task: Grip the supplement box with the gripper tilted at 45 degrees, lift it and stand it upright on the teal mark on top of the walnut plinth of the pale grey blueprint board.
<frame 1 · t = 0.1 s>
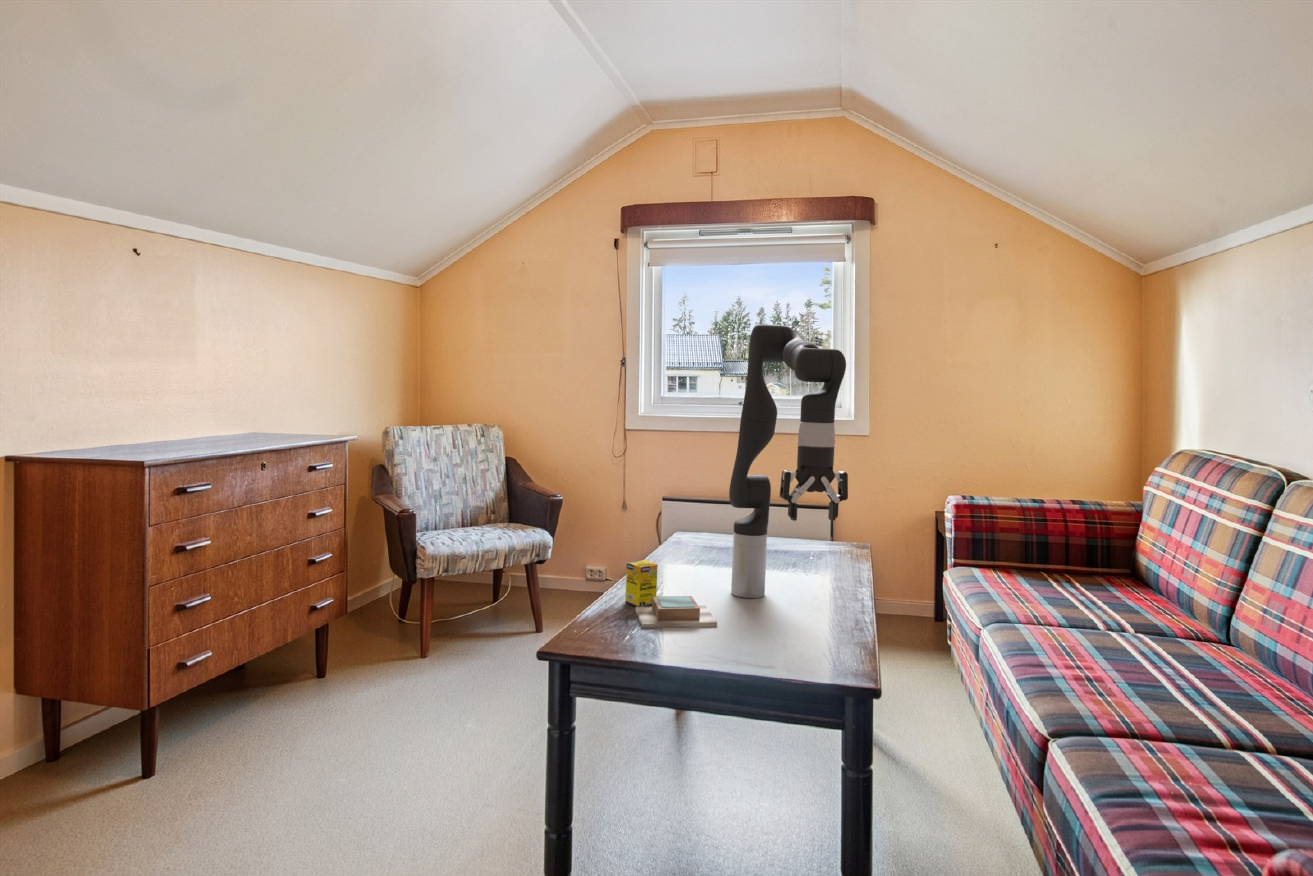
hand: (812, 520, 150), 29 cm above the table, tool pointing down, fingers open, 8 cm apart
blueprint board: (675, 618, 174), on the table
supplement box: (640, 605, 184), on the table
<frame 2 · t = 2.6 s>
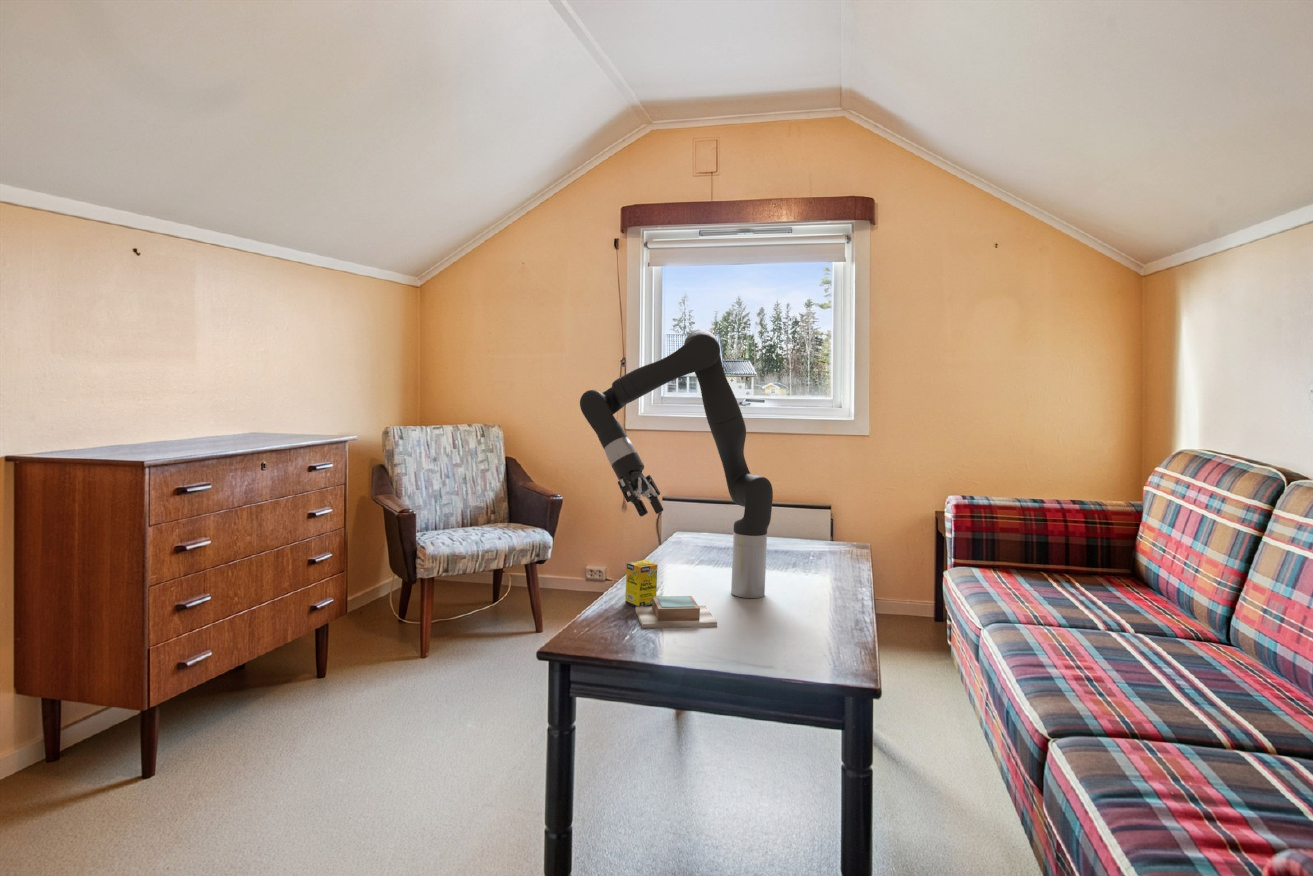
hand: (652, 513, 179), 24 cm above the table, tool tilted 35°, fingers open, 8 cm apart
nothing on the table moved.
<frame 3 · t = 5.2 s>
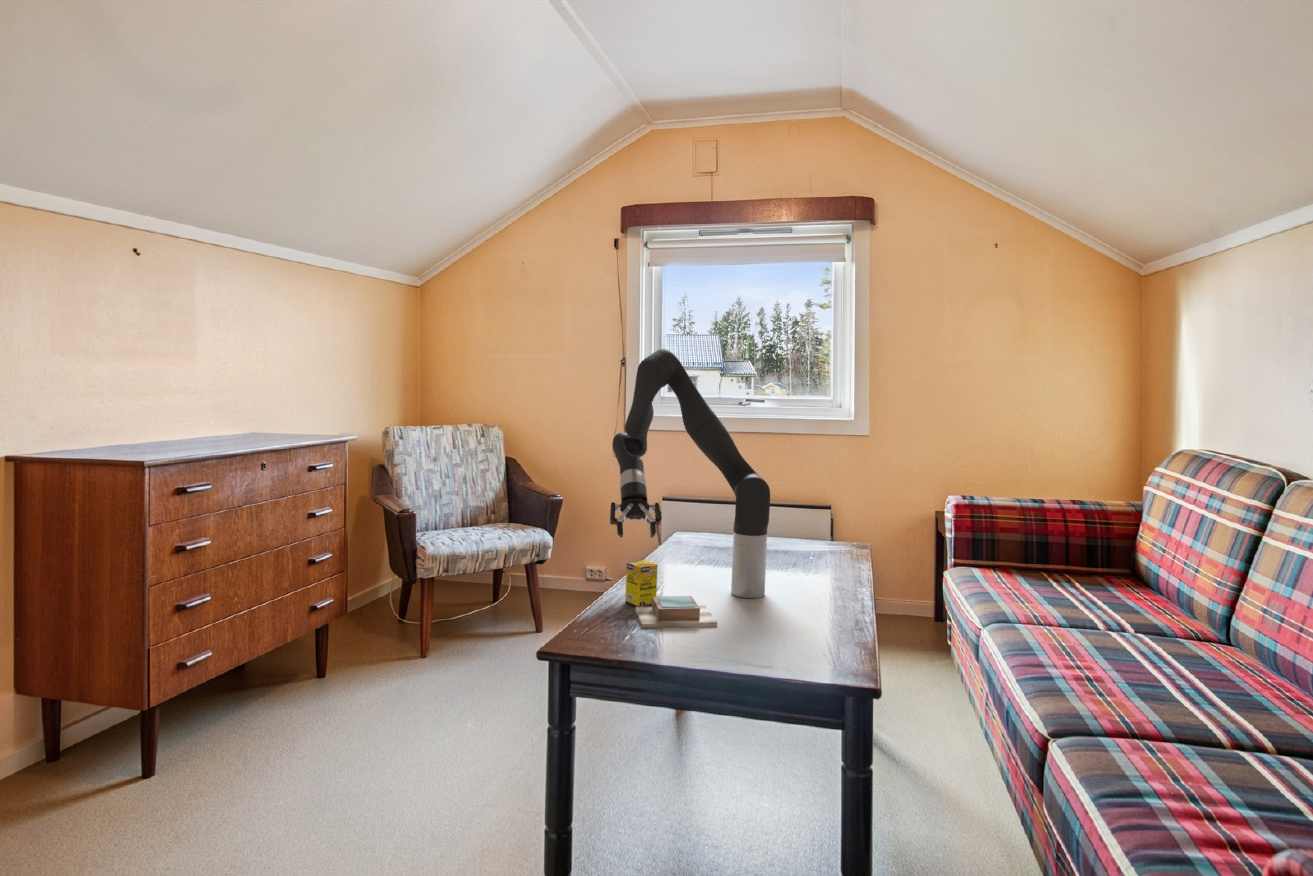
hand: (637, 536, 194), 16 cm above the table, tool tilted 45°, fingers open, 8 cm apart
nothing on the table moved.
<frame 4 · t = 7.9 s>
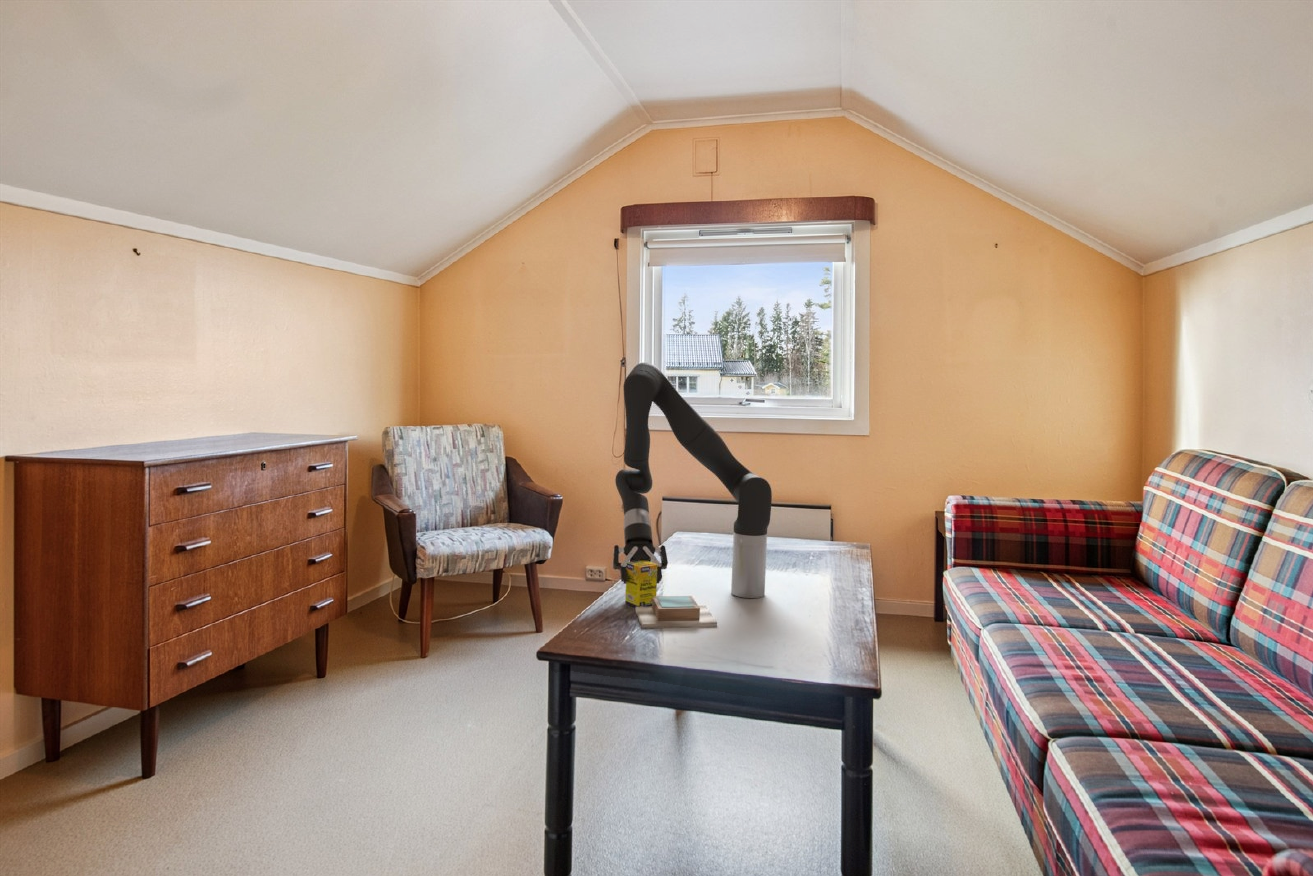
hand: (641, 582, 183), 6 cm above the table, tool tilted 45°, fingers open, 8 cm apart
nothing on the table moved.
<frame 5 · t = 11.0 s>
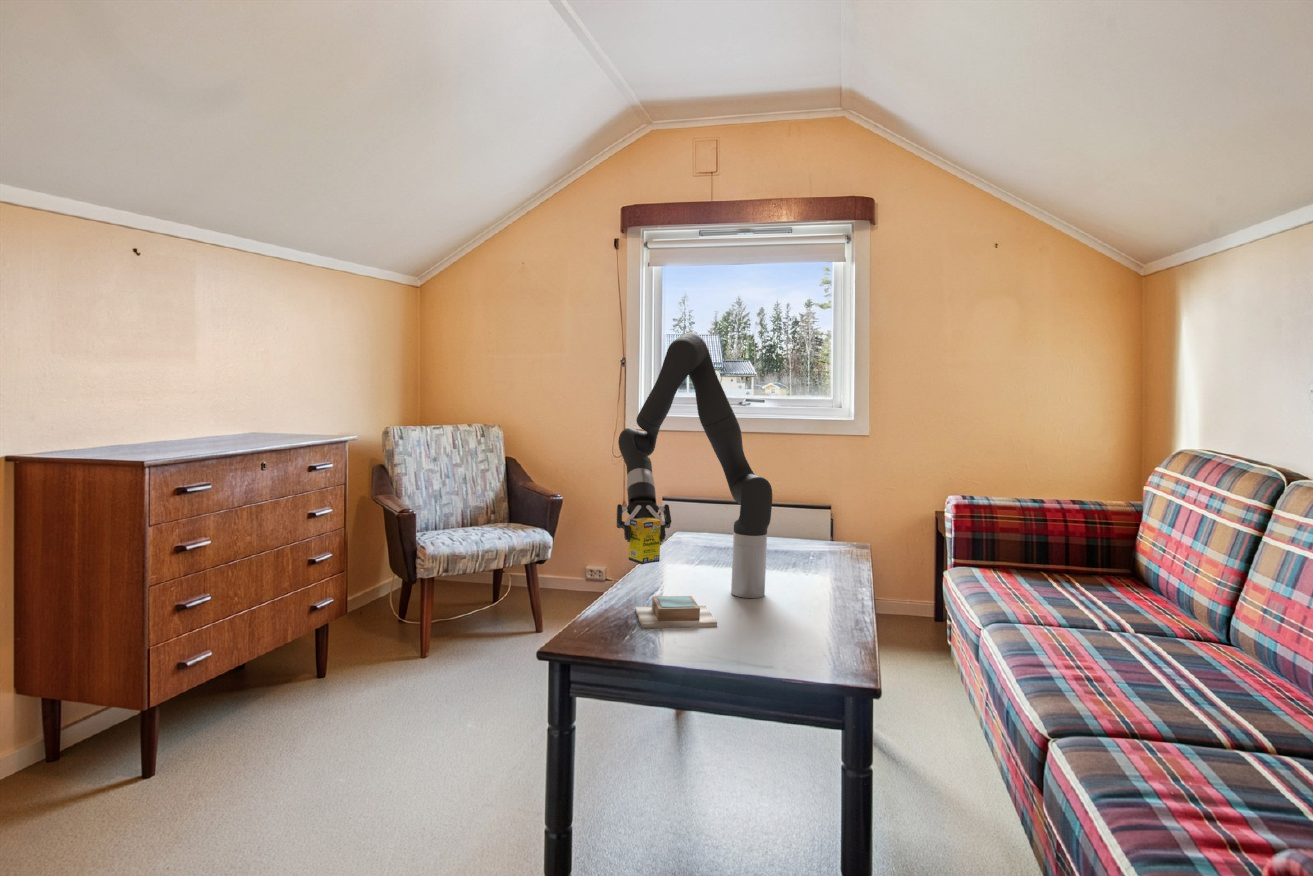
hand: (645, 540, 181), 17 cm above the table, tool tilted 45°, fingers closed on supplement box, 8 cm apart
supplement box: (644, 561, 183), point 11 cm above the table, touching gripper
when the fingers open (11 cm above the table, at t = 13.6 s): supplement box drops 1 cm, resting on blueprint board.
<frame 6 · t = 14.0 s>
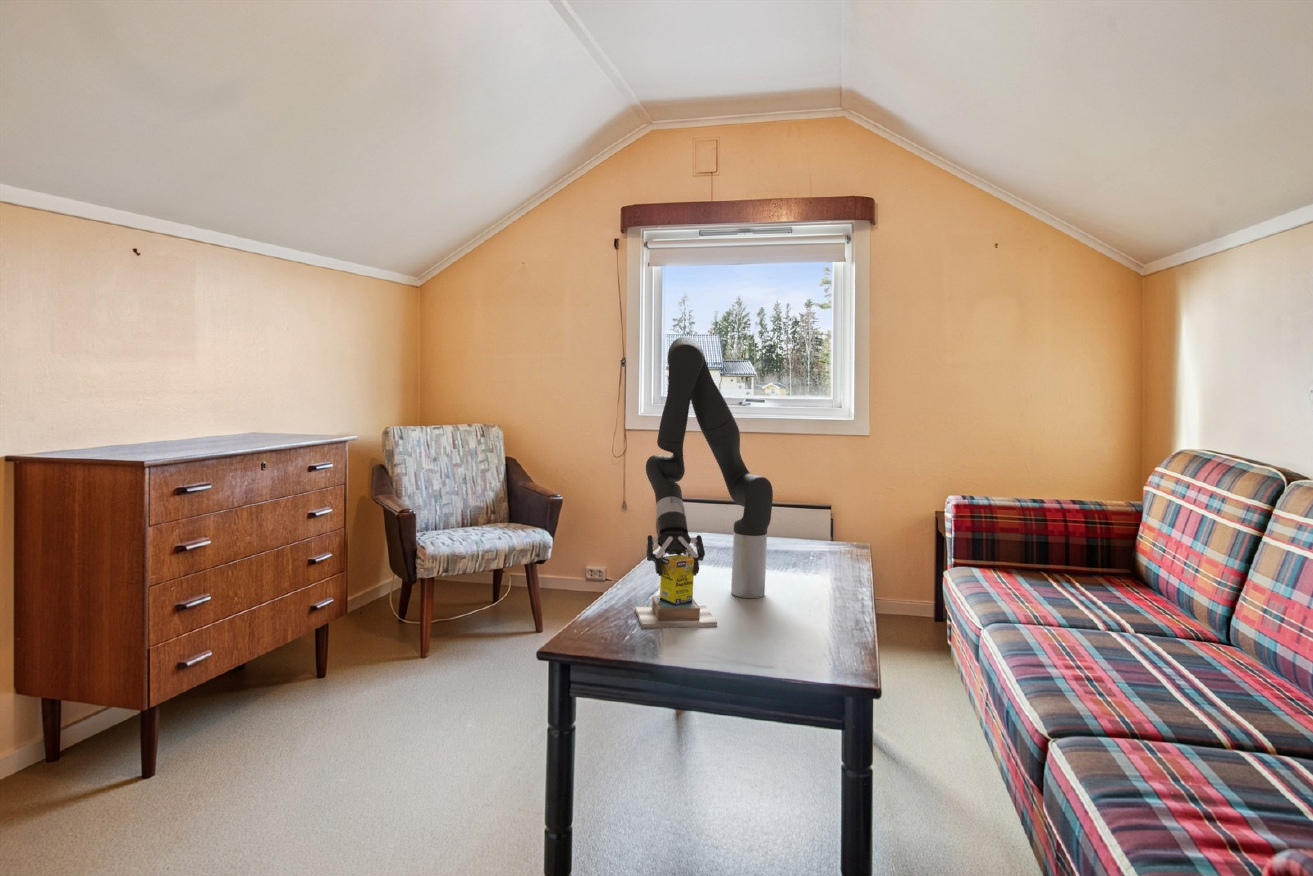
hand: (678, 574, 172), 11 cm above the table, tool tilted 45°, fingers open, 8 cm apart
supplement box: (676, 602, 174), point 4 cm above the table, touching blueprint board, gripper
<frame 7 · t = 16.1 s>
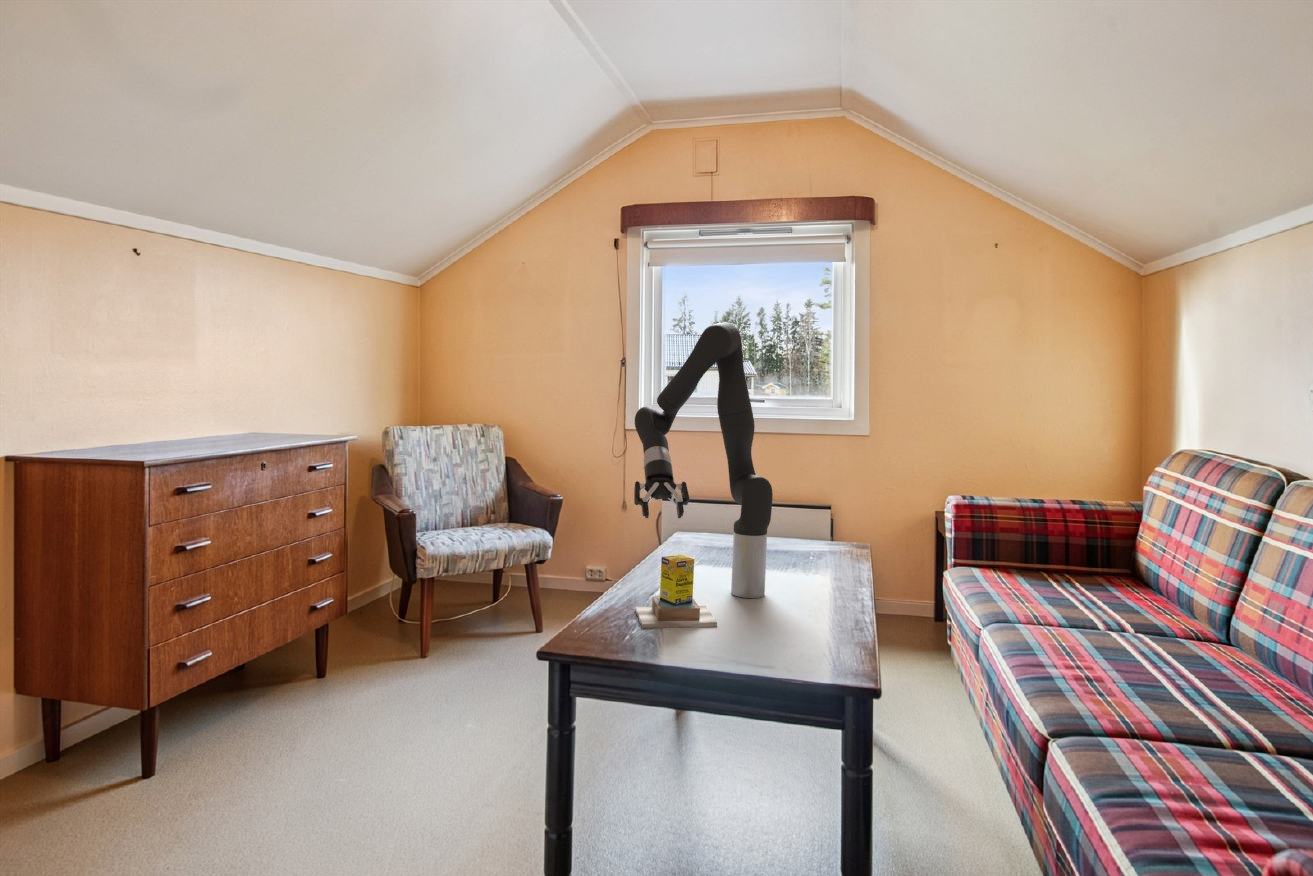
hand: (663, 516, 182), 23 cm above the table, tool tilted 45°, fingers open, 8 cm apart
supplement box: (676, 602, 174), point 4 cm above the table, touching blueprint board
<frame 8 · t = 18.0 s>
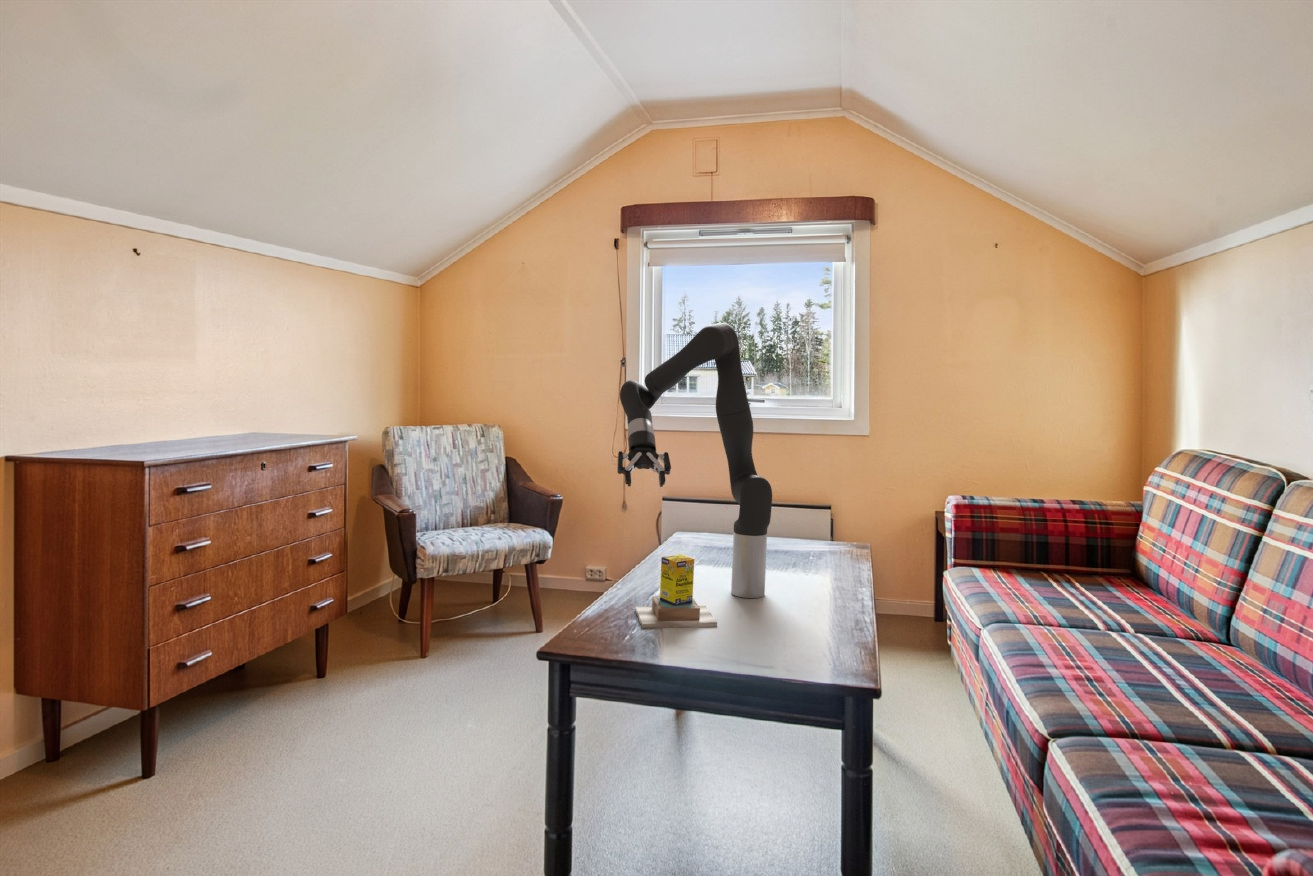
hand: (645, 484, 187), 31 cm above the table, tool tilted 45°, fingers open, 8 cm apart
nothing on the table moved.
at the end: supplement box 0.2 cm off-centre on the blueprint board, point 3.9 cm above the blueprint board's base; supplement box tilted 0°; the gripper is holding nothing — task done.
